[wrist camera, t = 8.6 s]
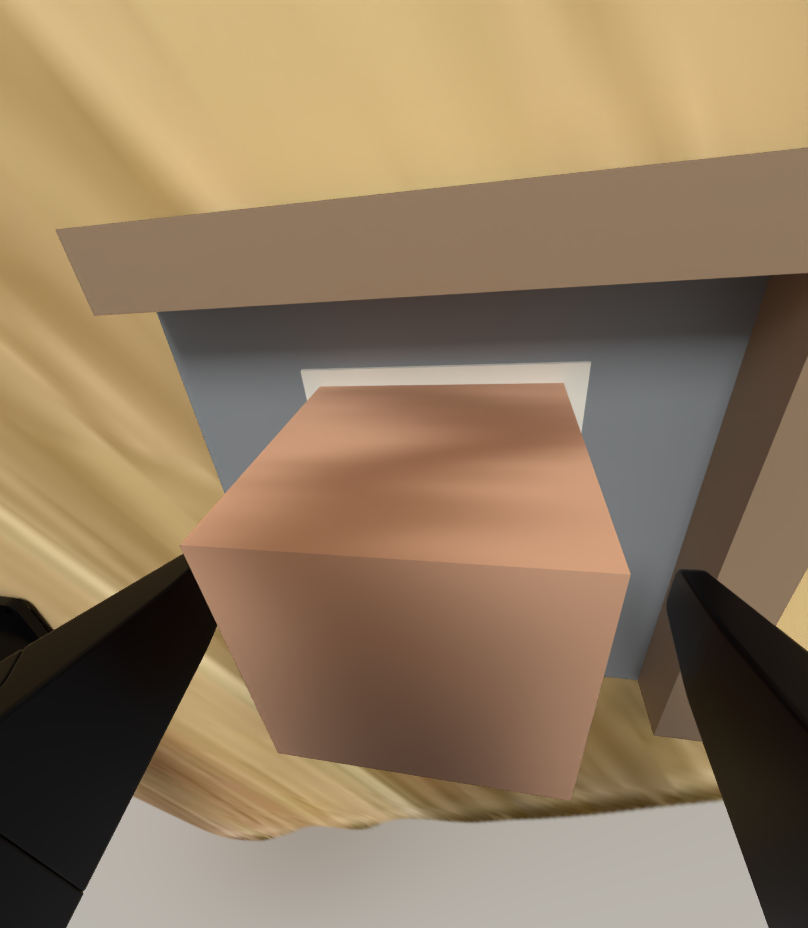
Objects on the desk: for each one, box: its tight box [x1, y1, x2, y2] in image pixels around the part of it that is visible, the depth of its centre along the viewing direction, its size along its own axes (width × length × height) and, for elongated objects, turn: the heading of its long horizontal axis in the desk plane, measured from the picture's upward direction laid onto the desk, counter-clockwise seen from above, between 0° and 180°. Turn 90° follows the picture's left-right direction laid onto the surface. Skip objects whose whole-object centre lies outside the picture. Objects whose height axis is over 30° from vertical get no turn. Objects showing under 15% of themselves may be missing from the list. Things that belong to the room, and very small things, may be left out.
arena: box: [56, 148, 808, 741], centre depth 11 cm, size 14×14×2 cm
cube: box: [180, 383, 631, 801], centre depth 9 cm, size 6×6×6 cm
